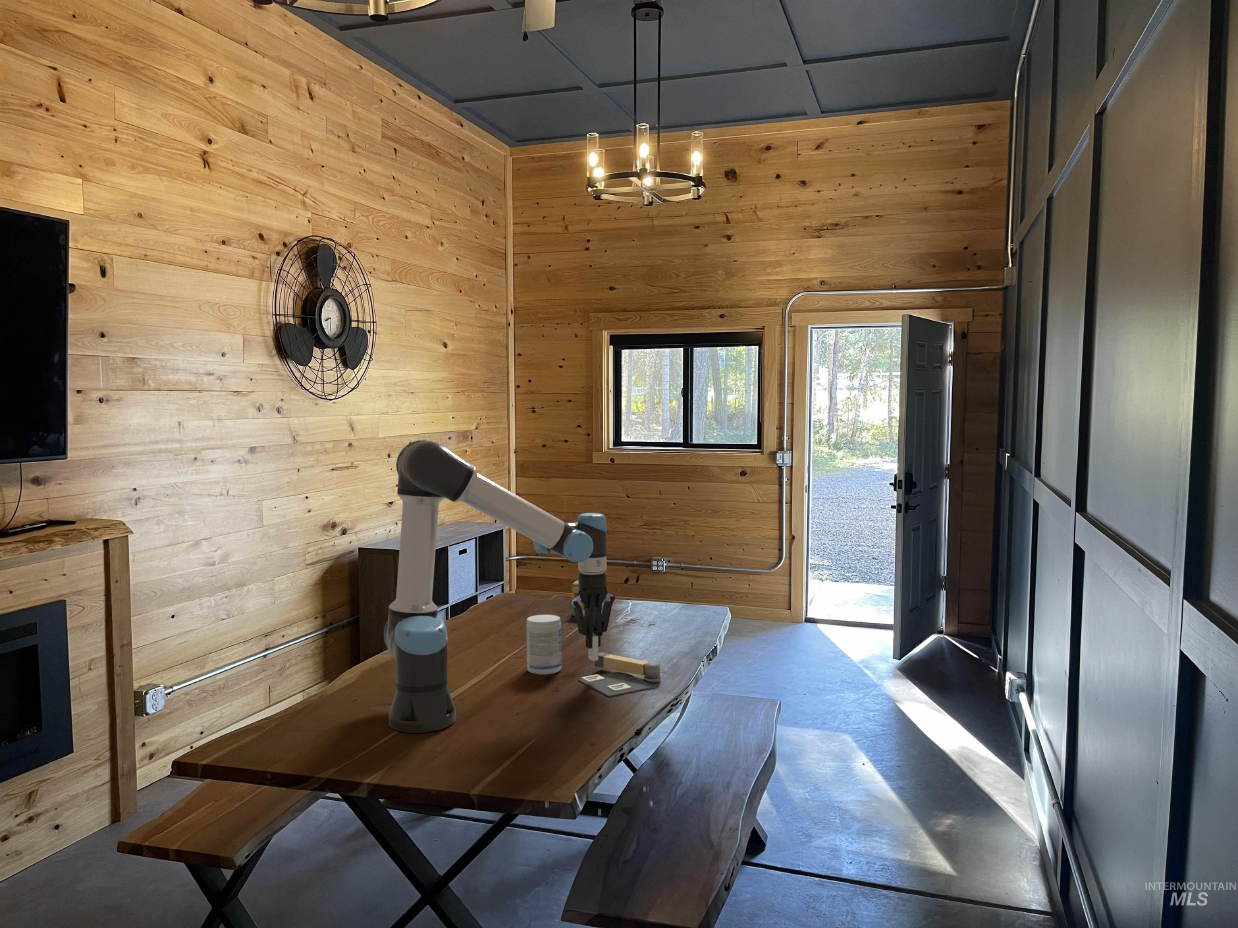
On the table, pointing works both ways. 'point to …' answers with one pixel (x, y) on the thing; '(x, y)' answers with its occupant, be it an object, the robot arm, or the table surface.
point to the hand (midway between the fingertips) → (593, 659)
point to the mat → (617, 679)
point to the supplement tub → (543, 644)
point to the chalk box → (574, 594)
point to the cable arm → (628, 665)
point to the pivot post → (652, 680)
